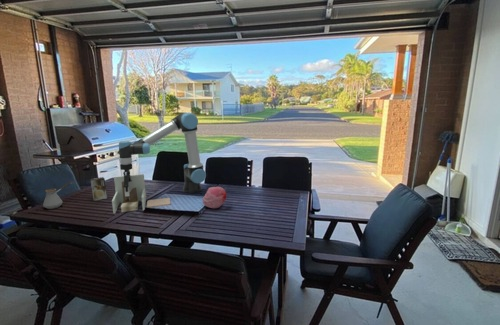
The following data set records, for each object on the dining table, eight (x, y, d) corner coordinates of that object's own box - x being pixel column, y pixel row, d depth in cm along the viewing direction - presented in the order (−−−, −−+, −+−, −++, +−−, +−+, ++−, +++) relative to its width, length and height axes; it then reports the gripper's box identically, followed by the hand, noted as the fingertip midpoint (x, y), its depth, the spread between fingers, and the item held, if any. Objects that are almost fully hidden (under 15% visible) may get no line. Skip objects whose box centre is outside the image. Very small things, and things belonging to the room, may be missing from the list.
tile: (169, 198, 208) (169, 197, 207) (170, 204, 195) (170, 203, 194) (147, 201, 203) (147, 200, 202) (146, 207, 190) (146, 206, 189)
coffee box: (106, 196, 215) (103, 176, 212) (107, 198, 210) (105, 178, 207) (93, 198, 210) (90, 178, 207) (94, 200, 205) (91, 180, 202)
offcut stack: (138, 205, 192) (138, 201, 191) (138, 209, 185) (137, 205, 184) (122, 208, 188) (121, 203, 187) (121, 212, 181) (120, 207, 181)
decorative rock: (233, 197, 192) (222, 179, 193) (229, 201, 178) (216, 182, 179) (212, 210, 196) (201, 193, 196) (206, 216, 182) (194, 197, 182)
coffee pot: (50, 211, 186) (47, 190, 183) (39, 208, 190) (36, 188, 187) (79, 201, 205) (76, 181, 202) (69, 199, 210) (66, 180, 207)
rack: (146, 199, 206) (143, 174, 202) (145, 209, 186) (142, 181, 182) (117, 203, 200) (114, 176, 196) (112, 213, 179) (109, 184, 175)
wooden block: (134, 208, 189) (132, 183, 186) (122, 206, 193) (120, 181, 189) (138, 206, 193) (136, 181, 189) (126, 204, 196) (124, 180, 193)
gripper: (122, 160, 196) (124, 189, 200) (117, 167, 173) (120, 199, 177) (133, 160, 199) (135, 188, 203) (130, 166, 176) (132, 198, 179)
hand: (128, 193), depth 190 cm, fingers open, 13 cm apart
